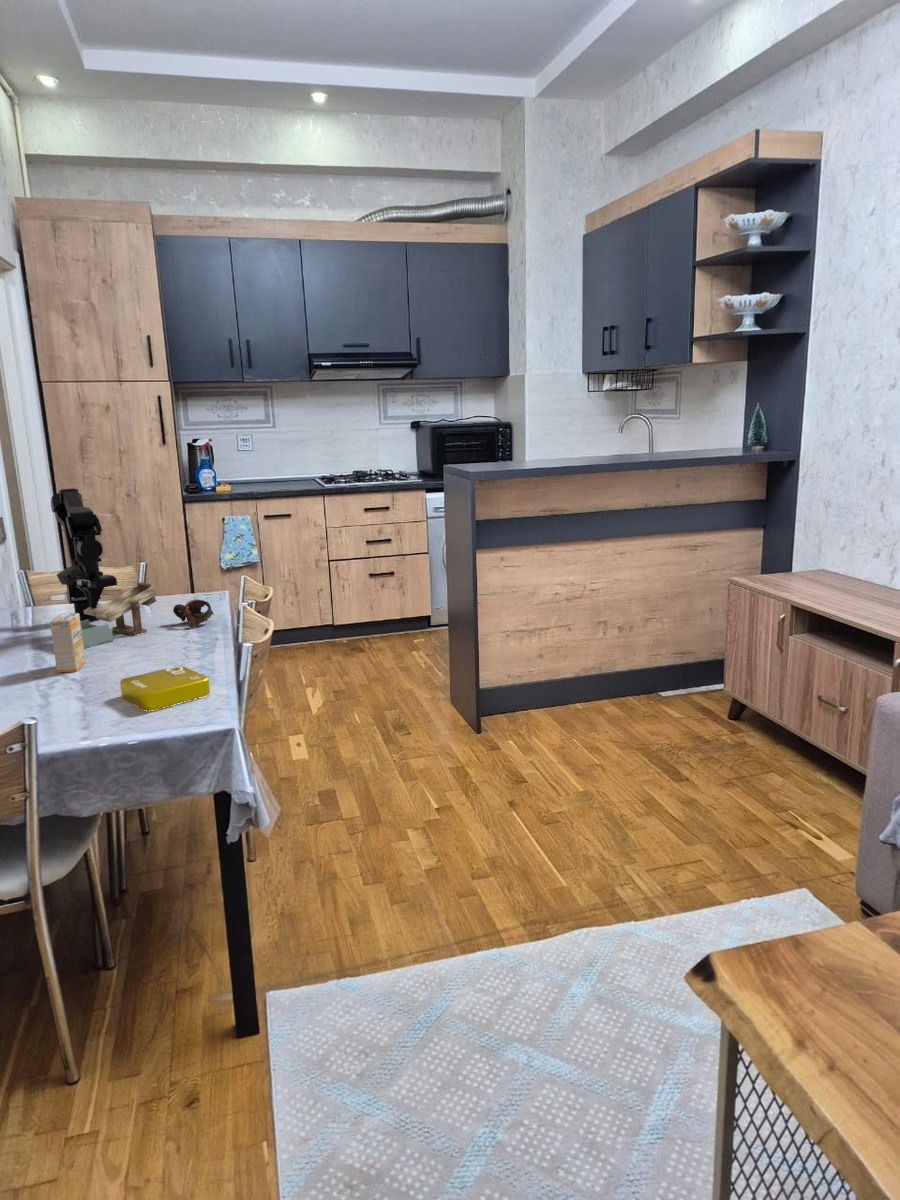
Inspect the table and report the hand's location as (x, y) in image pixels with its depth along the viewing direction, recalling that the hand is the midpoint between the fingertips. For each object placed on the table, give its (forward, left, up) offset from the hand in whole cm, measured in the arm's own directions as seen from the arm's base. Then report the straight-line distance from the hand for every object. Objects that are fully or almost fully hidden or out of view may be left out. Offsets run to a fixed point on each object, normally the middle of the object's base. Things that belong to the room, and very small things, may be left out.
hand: (93, 608), depth 231 cm
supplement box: (+28, -23, -7) cm, 37 cm away
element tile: (+67, -23, -8) cm, 71 cm away
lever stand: (+9, +5, -7) cm, 12 cm away
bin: (+9, -9, -7) cm, 14 cm away
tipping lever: (+5, +6, -1) cm, 8 cm away
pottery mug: (+18, +21, -7) cm, 28 cm away
